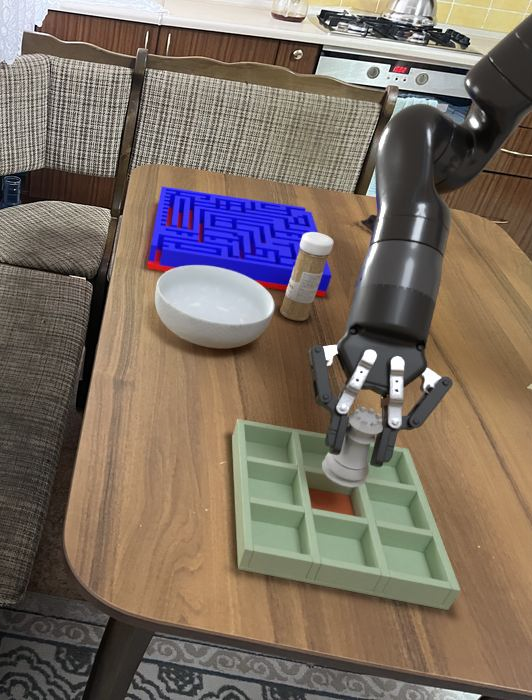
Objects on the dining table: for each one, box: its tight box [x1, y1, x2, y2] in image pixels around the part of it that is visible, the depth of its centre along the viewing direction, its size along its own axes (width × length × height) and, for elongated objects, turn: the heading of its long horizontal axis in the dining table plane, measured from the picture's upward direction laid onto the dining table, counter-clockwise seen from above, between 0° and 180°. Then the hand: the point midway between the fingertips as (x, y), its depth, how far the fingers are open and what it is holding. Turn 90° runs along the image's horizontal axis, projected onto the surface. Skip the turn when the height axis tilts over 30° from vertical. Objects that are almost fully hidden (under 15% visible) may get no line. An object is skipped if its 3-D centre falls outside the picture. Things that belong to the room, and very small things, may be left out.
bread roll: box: [358, 214, 377, 235], centre depth 141 cm, size 11×8×4 cm
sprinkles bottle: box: [279, 232, 335, 322], centre depth 105 cm, size 5×5×14 cm
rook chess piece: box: [322, 406, 383, 488], centre depth 68 cm, size 4×4×8 cm
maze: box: [146, 186, 333, 298], centre depth 127 cm, size 30×30×4 cm
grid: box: [231, 418, 461, 611], centre depth 72 cm, size 20×20×3 cm
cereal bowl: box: [154, 265, 276, 349], centre depth 100 cm, size 17×17×7 cm
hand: (355, 459), depth 66 cm, fingers closed on rook chess piece, 3 cm apart
